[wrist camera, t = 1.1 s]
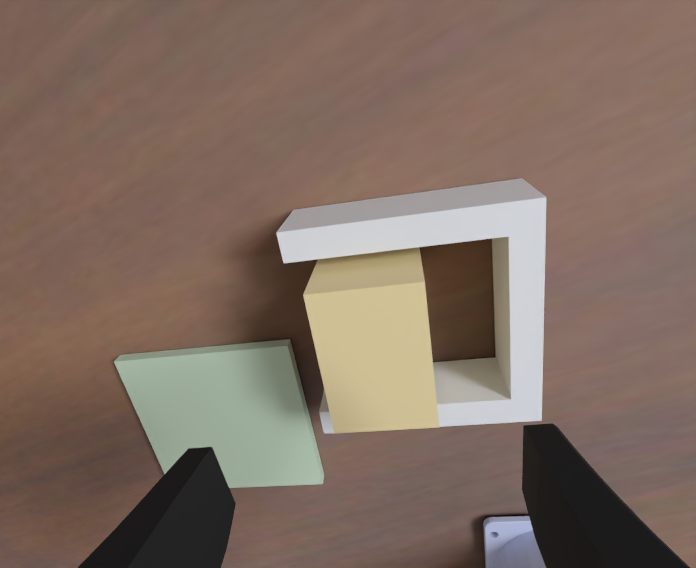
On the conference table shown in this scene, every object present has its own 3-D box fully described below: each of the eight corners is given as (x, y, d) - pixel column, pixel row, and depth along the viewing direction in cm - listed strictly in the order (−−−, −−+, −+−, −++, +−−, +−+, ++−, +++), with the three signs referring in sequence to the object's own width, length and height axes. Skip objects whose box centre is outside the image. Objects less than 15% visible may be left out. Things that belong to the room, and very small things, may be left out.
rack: (522, 376, 21) (541, 420, 18) (332, 390, 22) (324, 433, 20) (522, 178, 17) (546, 196, 14) (293, 209, 19) (276, 232, 16)
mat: (324, 475, 25) (322, 484, 24) (176, 481, 26) (171, 490, 26) (290, 338, 21) (287, 345, 21) (120, 354, 23) (113, 361, 22)
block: (429, 352, 21) (439, 427, 16) (346, 359, 22) (334, 433, 17) (417, 232, 19) (424, 281, 14) (324, 244, 19) (303, 294, 15)
